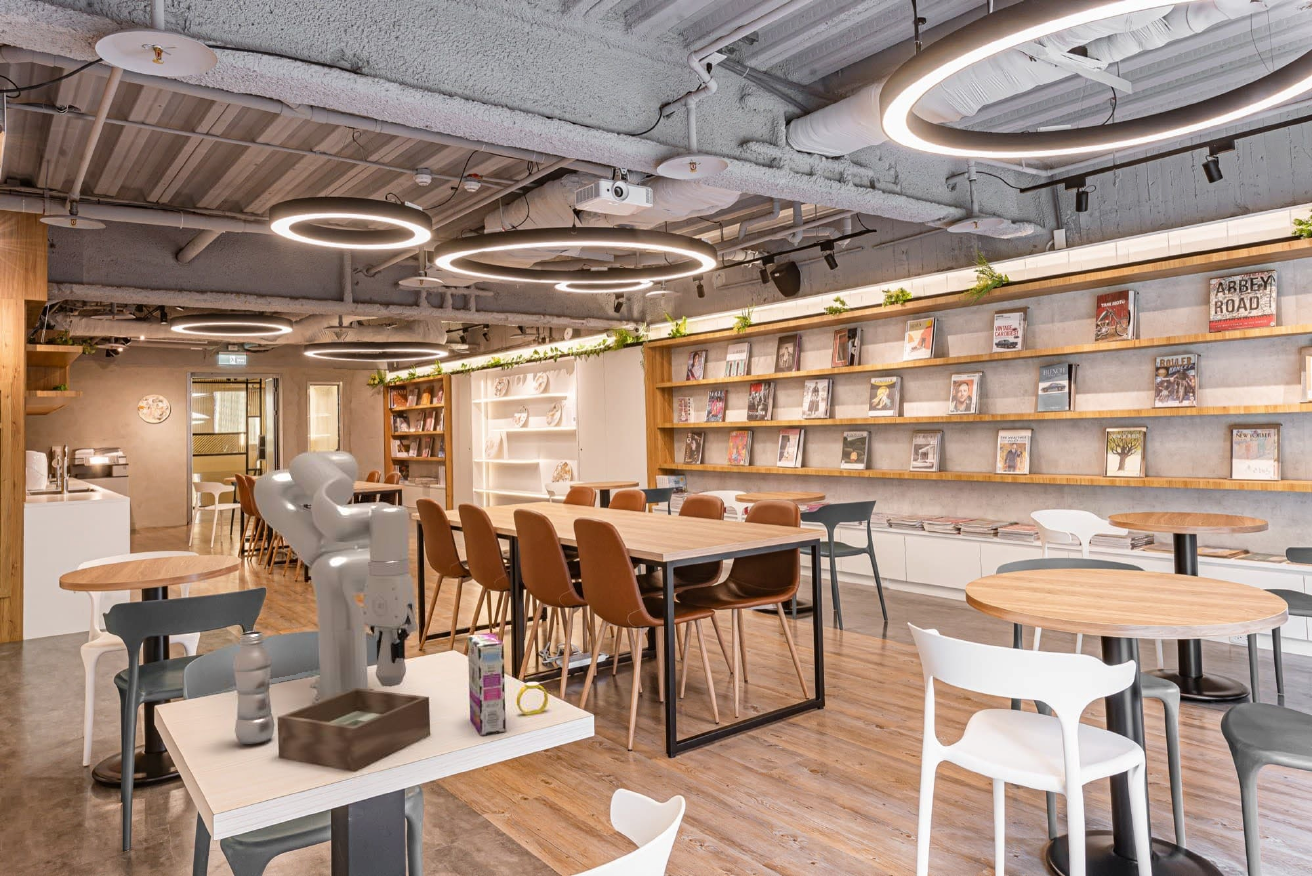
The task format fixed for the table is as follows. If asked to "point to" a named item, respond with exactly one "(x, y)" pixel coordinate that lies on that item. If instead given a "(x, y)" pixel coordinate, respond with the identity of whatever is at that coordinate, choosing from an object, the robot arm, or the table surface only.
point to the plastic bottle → (253, 690)
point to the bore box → (353, 728)
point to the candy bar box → (486, 683)
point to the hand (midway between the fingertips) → (391, 659)
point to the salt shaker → (389, 662)
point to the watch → (532, 686)
